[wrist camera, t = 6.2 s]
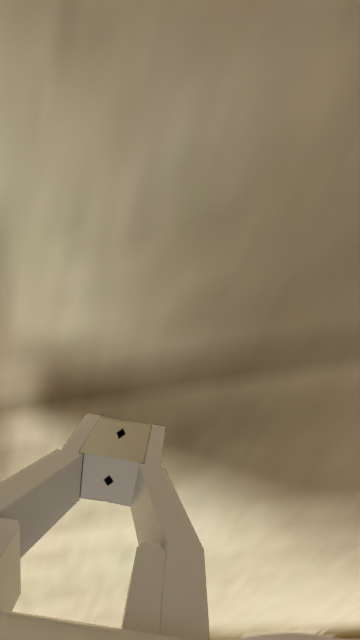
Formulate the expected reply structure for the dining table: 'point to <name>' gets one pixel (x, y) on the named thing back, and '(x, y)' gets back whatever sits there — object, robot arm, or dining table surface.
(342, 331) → the dining table surface
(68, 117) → the dining table surface
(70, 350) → the dining table surface
